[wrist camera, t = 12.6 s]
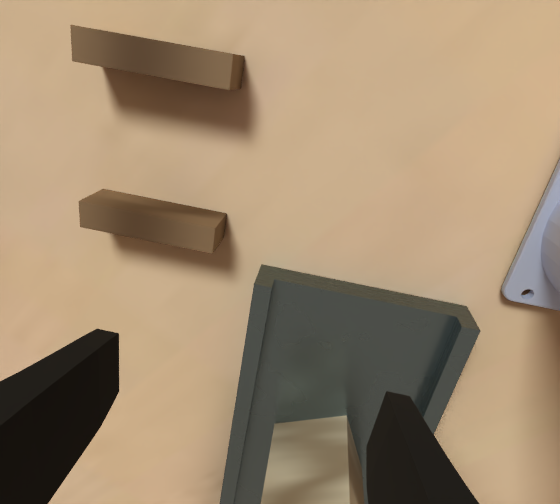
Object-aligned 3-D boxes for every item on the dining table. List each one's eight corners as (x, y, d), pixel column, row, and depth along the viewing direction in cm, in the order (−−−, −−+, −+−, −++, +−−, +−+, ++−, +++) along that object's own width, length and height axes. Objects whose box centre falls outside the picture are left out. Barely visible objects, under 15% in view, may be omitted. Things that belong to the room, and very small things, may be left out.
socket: (244, 56, 16) (232, 54, 14) (223, 236, 19) (212, 254, 18) (99, 30, 16) (70, 24, 15) (103, 212, 20) (80, 226, 18)
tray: (466, 306, 19) (480, 330, 18) (363, 552, 28) (364, 586, 26) (261, 264, 20) (254, 284, 18) (220, 519, 28) (212, 550, 26)
